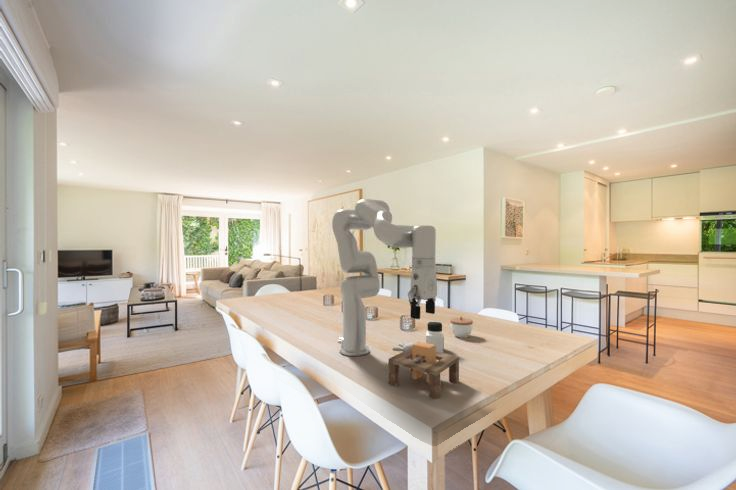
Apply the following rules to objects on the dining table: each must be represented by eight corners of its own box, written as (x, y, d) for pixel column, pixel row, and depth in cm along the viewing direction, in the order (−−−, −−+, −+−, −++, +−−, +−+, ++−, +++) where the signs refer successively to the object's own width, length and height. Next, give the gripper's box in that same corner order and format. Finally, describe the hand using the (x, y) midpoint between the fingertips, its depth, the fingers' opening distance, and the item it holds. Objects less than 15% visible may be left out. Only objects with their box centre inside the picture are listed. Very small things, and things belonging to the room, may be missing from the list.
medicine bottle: (443, 353, 133) (443, 324, 133) (426, 352, 134) (426, 323, 134) (443, 348, 140) (443, 320, 140) (426, 347, 141) (426, 319, 141)
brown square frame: (388, 383, 104) (388, 355, 104) (414, 368, 117) (414, 343, 117) (436, 399, 94) (436, 367, 94) (458, 380, 106) (458, 353, 106)
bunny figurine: (426, 354, 121) (391, 343, 129) (425, 367, 121) (390, 355, 129) (435, 347, 129) (401, 337, 137) (433, 359, 130) (400, 349, 137)
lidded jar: (475, 339, 153) (475, 319, 153) (453, 339, 154) (453, 319, 154) (468, 332, 164) (468, 314, 164) (447, 332, 164) (447, 314, 164)
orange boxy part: (412, 378, 106) (412, 344, 106) (419, 374, 109) (418, 341, 109) (430, 383, 102) (429, 347, 102) (436, 378, 105) (435, 344, 105)
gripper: (420, 265, 96) (419, 322, 97) (445, 262, 110) (445, 312, 110) (399, 264, 101) (398, 318, 101) (426, 261, 115) (425, 309, 115)
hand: (423, 315), depth 106 cm, fingers open, 9 cm apart
